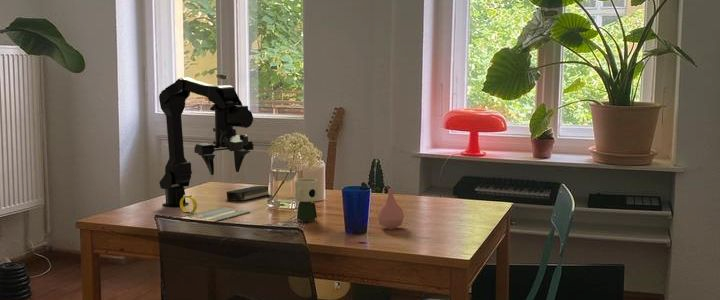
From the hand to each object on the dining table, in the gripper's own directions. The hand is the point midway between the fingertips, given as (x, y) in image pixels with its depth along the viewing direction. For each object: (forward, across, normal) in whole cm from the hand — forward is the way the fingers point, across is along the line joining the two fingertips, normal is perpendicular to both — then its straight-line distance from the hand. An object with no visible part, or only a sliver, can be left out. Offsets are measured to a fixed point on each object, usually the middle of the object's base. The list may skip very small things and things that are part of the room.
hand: (224, 173), depth 244 cm
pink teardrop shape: (+12, +27, -50) cm, 58 cm away
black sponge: (+14, +21, +19) cm, 32 cm away
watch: (+14, -8, +10) cm, 19 cm away
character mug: (+13, +14, -25) cm, 32 cm away
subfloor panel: (+14, -5, 0) cm, 14 cm away
